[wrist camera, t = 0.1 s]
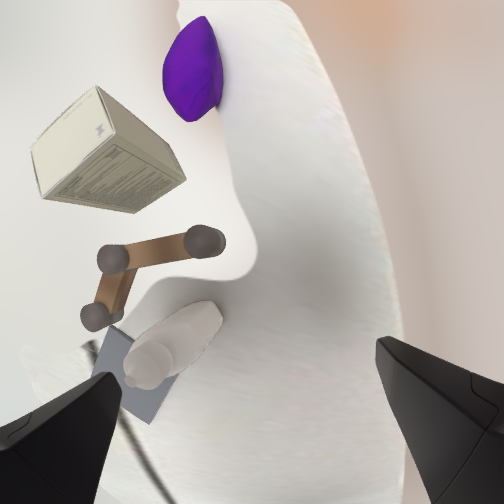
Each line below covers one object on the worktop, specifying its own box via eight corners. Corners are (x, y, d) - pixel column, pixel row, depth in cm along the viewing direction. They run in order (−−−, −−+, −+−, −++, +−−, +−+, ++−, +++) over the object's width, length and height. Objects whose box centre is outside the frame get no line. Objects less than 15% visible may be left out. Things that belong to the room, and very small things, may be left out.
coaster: (151, 422, 25) (149, 424, 24) (92, 379, 25) (89, 381, 25) (179, 371, 24) (177, 373, 24) (112, 324, 25) (109, 326, 24)
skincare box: (169, 143, 24) (99, 78, 12) (189, 182, 24) (119, 131, 12) (115, 179, 25) (27, 144, 12) (132, 218, 24) (38, 201, 12)
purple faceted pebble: (219, -2, 20) (213, 102, 18) (226, 28, 25) (224, 132, 23) (174, 6, 20) (152, 111, 19) (186, 35, 25) (172, 138, 24)
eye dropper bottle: (226, 347, 24) (187, 424, 12) (166, 345, 24) (96, 406, 12) (223, 299, 24) (177, 346, 12) (162, 298, 24) (80, 335, 12)
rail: (164, 358, 24) (147, 375, 20) (97, 309, 25) (73, 318, 21) (231, 237, 24) (222, 235, 20) (152, 191, 24) (131, 182, 20)
